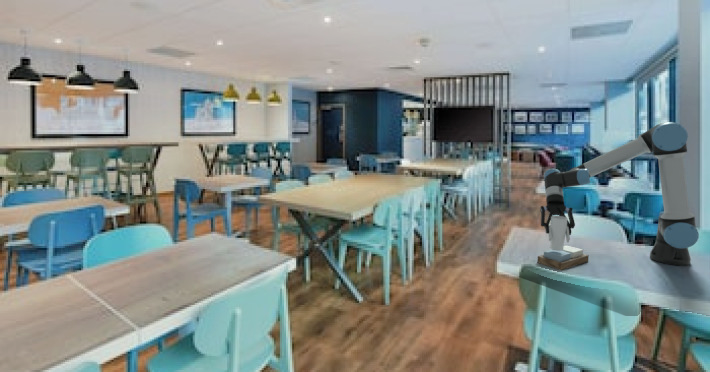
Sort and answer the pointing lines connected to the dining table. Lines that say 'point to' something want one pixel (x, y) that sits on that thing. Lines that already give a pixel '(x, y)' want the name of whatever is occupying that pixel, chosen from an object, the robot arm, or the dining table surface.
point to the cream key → (573, 251)
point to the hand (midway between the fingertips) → (559, 240)
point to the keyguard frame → (563, 264)
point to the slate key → (557, 255)
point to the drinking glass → (558, 232)
